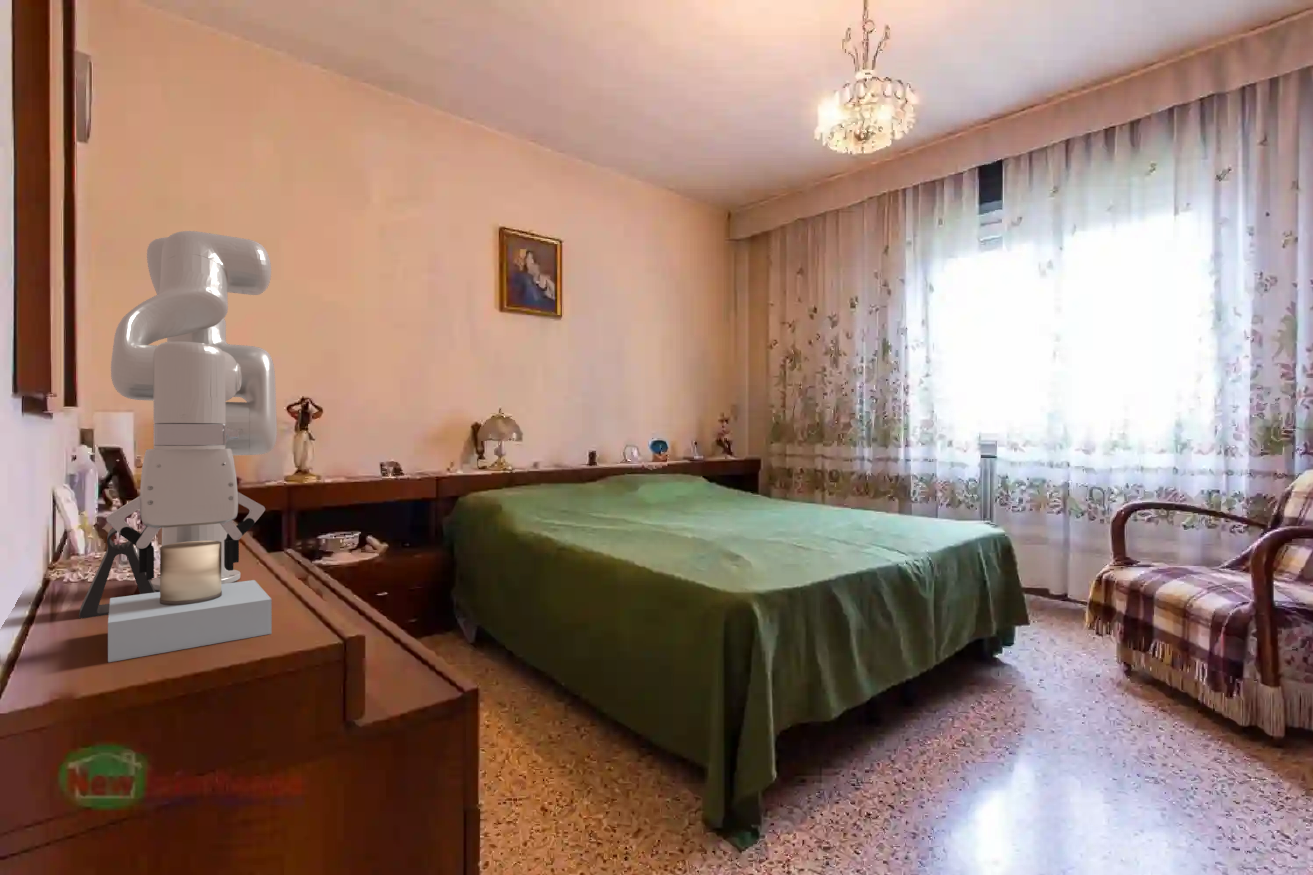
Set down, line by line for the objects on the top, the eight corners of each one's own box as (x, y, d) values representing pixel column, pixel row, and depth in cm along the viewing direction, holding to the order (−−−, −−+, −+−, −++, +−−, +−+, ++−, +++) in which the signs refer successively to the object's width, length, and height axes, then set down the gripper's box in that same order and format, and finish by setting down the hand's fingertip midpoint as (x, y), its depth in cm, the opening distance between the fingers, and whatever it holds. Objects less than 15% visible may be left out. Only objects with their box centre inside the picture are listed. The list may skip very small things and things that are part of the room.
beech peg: (158, 627, 82) (158, 544, 82) (218, 618, 86) (218, 538, 86) (160, 640, 77) (160, 551, 77) (224, 630, 81) (224, 545, 81)
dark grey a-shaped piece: (78, 618, 88) (78, 533, 88) (80, 609, 92) (80, 528, 92) (160, 607, 94) (160, 527, 94) (158, 599, 98) (158, 523, 98)
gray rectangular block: (110, 632, 82) (110, 598, 82) (254, 610, 92) (254, 579, 92) (108, 662, 71) (107, 622, 71) (271, 633, 81) (271, 599, 81)
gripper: (263, 438, 90) (263, 560, 90) (101, 438, 79) (102, 578, 79) (273, 438, 84) (273, 568, 84) (100, 438, 73) (100, 589, 73)
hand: (190, 572), depth 82 cm, fingers open, 7 cm apart
